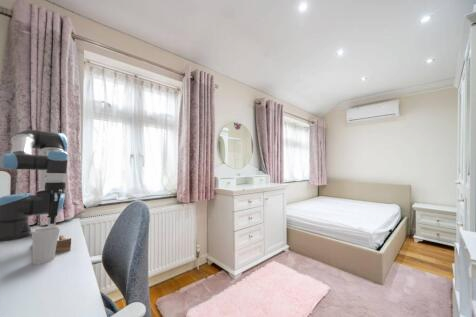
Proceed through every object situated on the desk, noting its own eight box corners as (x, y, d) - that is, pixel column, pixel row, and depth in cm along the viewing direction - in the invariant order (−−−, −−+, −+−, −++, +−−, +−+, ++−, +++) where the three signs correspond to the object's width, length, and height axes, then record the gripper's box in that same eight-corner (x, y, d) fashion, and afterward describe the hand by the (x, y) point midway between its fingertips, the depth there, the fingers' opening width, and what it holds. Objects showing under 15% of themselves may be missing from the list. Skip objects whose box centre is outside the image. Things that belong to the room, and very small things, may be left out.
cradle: (33, 244, 94) (34, 234, 94) (62, 239, 102) (62, 229, 102) (37, 257, 79) (38, 244, 80) (70, 250, 87) (71, 238, 88)
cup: (24, 266, 71) (27, 233, 72) (34, 258, 78) (37, 228, 79) (53, 262, 75) (56, 230, 76) (60, 255, 82) (62, 226, 83)
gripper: (43, 181, 98) (38, 229, 96) (46, 182, 90) (41, 234, 88) (63, 181, 104) (59, 226, 102) (68, 182, 95) (63, 231, 93)
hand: (51, 230), depth 95 cm, fingers closed
